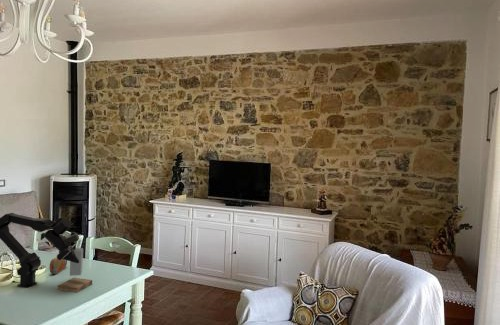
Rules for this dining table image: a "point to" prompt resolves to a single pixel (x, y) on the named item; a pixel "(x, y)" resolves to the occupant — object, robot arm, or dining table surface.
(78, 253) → the brushed metal box
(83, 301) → the dining table surface
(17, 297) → the dining table surface
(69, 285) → the plate
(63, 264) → the tin
